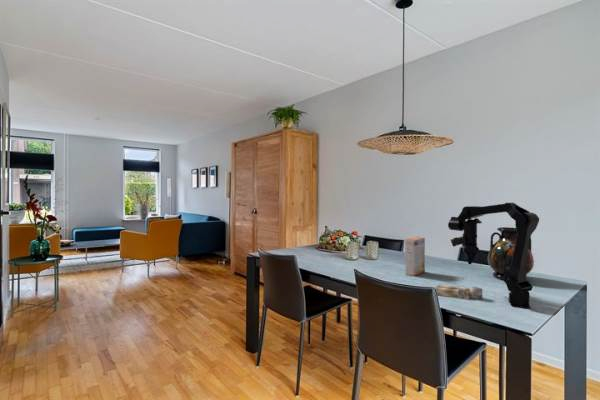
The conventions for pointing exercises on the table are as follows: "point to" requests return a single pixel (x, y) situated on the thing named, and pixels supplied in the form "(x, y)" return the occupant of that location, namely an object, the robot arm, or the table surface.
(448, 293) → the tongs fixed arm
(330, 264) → the table surface
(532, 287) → the robot arm
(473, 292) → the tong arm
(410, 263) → the cracker box
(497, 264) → the amphora vase
